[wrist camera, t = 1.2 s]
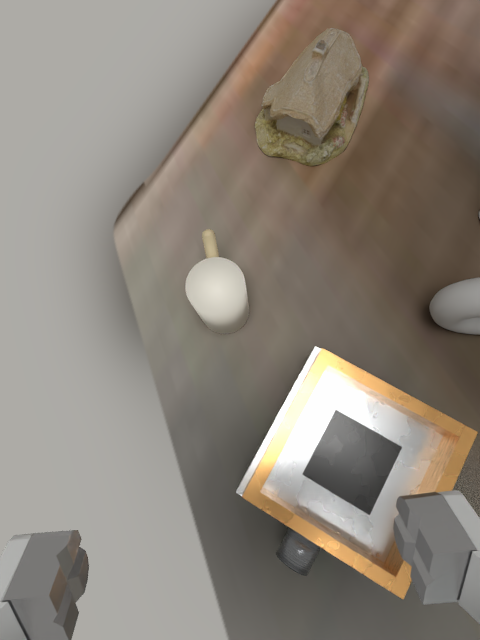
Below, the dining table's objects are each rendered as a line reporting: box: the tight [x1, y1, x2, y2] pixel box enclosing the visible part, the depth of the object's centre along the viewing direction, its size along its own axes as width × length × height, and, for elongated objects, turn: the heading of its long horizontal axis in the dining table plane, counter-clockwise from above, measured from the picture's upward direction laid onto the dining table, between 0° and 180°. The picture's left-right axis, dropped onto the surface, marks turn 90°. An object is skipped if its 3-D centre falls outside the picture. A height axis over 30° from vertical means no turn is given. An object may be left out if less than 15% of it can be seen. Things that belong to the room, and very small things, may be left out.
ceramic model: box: [255, 28, 369, 166], centre depth 44 cm, size 14×11×10 cm
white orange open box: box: [236, 346, 478, 599], centre depth 35 cm, size 17×14×9 cm
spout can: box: [185, 229, 249, 334], centre depth 40 cm, size 9×5×8 cm, turn 9°
